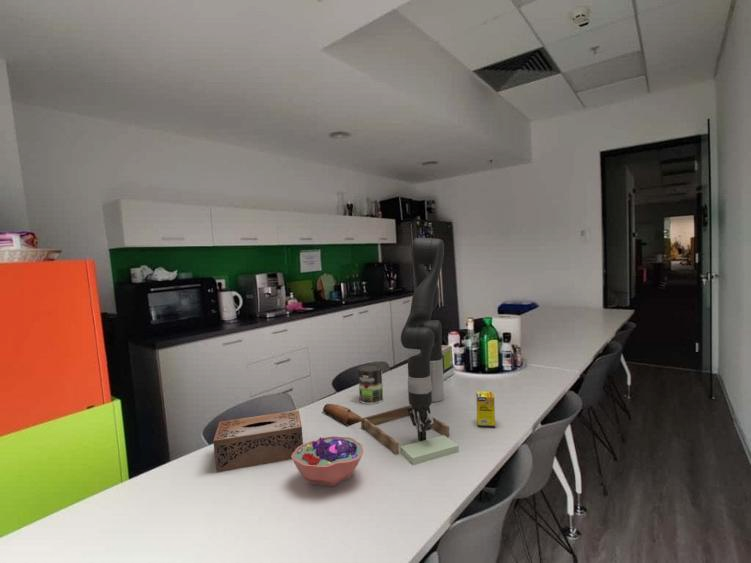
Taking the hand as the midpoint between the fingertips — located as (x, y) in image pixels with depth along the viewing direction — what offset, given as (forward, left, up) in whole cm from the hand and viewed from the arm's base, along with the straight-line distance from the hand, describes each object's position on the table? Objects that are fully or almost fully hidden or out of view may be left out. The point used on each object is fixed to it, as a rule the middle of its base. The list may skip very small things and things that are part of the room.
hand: (422, 441), depth 128 cm
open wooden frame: (-10, 0, -1) cm, 10 cm away
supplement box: (+1, +27, -1) cm, 27 cm away
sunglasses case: (-36, -12, -2) cm, 38 cm away
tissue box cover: (-24, -46, -2) cm, 52 cm away
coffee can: (-44, +5, -1) cm, 45 cm away
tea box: (-51, +46, -1) cm, 69 cm away
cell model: (+2, -33, -1) cm, 33 cm away
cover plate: (+5, -1, -2) cm, 6 cm away
